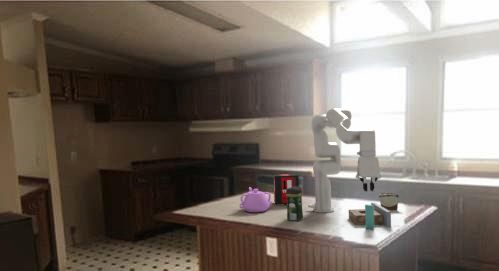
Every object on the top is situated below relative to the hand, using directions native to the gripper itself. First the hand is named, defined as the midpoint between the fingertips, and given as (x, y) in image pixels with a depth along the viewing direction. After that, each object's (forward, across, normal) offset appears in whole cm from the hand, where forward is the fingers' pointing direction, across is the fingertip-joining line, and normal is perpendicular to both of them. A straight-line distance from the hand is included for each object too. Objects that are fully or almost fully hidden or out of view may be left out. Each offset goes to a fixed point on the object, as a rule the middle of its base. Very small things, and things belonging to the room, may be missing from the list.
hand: (368, 190), depth 172 cm
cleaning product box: (+19, -36, +68) cm, 79 cm away
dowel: (+19, 0, 0) cm, 19 cm away
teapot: (+19, -58, +50) cm, 79 cm away
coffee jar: (+19, -35, +23) cm, 46 cm away
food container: (+19, +25, +43) cm, 53 cm away
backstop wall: (+19, +10, +14) cm, 26 cm away
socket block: (+19, +2, +14) cm, 24 cm away
